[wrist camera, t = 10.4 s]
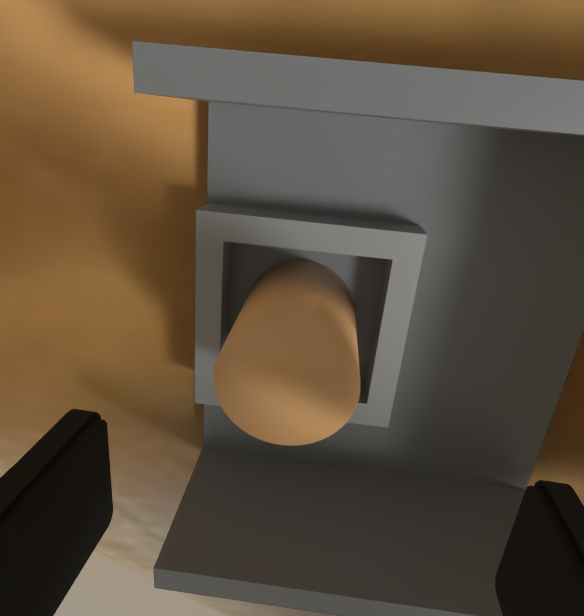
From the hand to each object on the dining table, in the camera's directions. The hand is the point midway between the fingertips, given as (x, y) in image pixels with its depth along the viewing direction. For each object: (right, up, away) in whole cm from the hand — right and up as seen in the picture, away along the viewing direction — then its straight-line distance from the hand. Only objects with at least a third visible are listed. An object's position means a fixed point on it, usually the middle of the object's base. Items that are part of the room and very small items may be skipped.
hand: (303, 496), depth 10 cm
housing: (+4, +4, +9) cm, 11 cm away
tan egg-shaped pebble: (0, +4, +9) cm, 9 cm away
